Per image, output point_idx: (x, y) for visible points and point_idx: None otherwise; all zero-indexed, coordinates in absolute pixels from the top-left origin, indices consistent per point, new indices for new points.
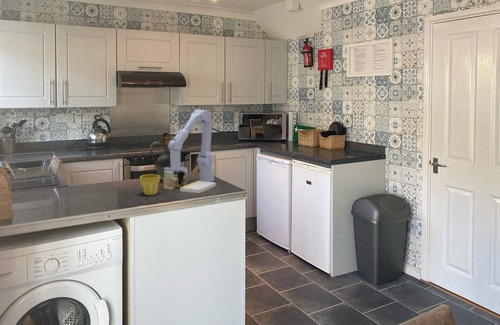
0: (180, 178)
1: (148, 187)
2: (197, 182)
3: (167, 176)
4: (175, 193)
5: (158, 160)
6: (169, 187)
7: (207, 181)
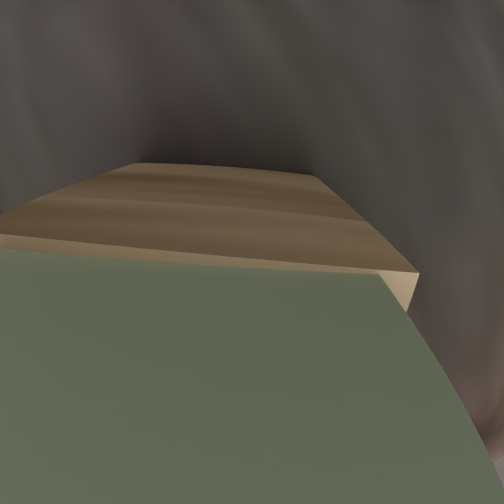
0: None
1: None
2: None
3: (21, 375)
4: (6, 20)
5: None
6: (158, 168)
7: None
